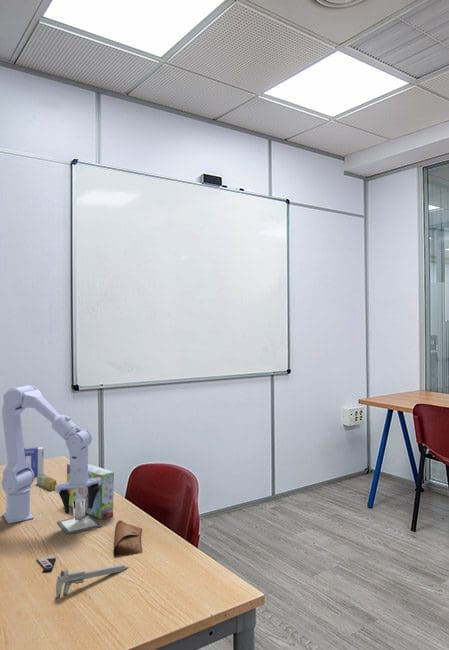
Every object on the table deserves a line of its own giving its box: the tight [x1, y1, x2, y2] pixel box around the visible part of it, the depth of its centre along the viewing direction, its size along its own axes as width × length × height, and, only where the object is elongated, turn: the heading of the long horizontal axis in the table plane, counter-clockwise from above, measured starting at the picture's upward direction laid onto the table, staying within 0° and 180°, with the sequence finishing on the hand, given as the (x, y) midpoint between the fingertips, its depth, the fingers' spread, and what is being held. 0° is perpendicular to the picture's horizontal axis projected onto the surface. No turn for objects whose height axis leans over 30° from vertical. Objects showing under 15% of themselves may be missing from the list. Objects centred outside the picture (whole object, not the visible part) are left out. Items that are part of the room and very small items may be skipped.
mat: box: [56, 514, 102, 535], centre depth 163 cm, size 11×11×1 cm
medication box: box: [36, 474, 58, 492], centre depth 200 cm, size 12×3×4 cm, turn 46°
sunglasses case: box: [113, 520, 143, 557], centre depth 151 cm, size 18×7×7 cm
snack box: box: [66, 462, 115, 520], centre depth 176 cm, size 21×6×15 cm, turn 50°
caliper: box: [55, 564, 130, 598], centre depth 128 cm, size 20×1×6 cm, turn 136°
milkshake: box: [72, 494, 88, 525], centre depth 163 cm, size 4×5×10 cm
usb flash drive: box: [36, 555, 57, 573], centre depth 137 cm, size 9×5×1 cm, turn 9°
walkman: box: [24, 446, 45, 478], centre depth 214 cm, size 8×3×12 cm, turn 102°
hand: (78, 510), depth 163 cm, fingers open, 7 cm apart
